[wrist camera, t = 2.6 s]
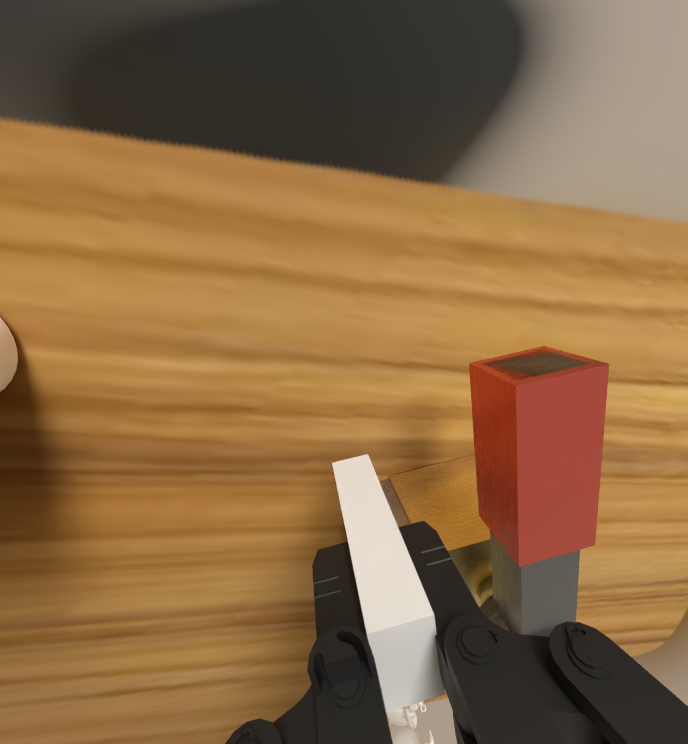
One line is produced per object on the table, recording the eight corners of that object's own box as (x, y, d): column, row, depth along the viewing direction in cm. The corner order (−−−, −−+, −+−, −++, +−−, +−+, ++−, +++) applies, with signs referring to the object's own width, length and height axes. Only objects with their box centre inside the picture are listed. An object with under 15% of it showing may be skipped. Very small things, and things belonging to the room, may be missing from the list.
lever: (551, 634, 17) (598, 699, 14) (474, 658, 17) (508, 730, 14) (558, 341, 12) (633, 359, 9) (450, 366, 12) (495, 392, 9)
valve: (357, 562, 25) (387, 692, 17) (341, 488, 23) (366, 597, 15) (535, 513, 26) (637, 613, 18) (535, 438, 24) (651, 516, 16)
